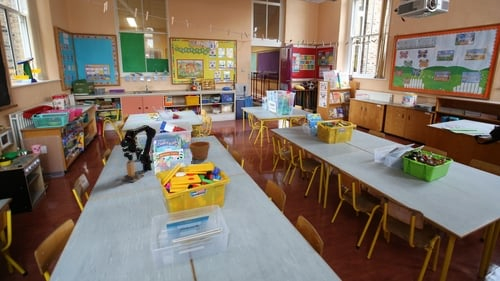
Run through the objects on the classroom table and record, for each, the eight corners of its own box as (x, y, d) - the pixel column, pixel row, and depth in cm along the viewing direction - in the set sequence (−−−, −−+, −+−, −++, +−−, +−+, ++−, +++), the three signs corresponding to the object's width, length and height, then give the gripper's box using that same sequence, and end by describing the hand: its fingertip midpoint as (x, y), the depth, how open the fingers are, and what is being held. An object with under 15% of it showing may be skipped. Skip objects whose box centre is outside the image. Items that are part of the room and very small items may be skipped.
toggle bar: (131, 177, 241) (128, 160, 237) (135, 177, 240) (133, 160, 236) (128, 178, 238) (125, 161, 233) (132, 179, 237) (130, 161, 232)
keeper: (132, 174, 249) (132, 170, 248) (143, 175, 246) (143, 171, 245) (122, 181, 235) (121, 176, 234) (133, 182, 233) (132, 177, 232)
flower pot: (190, 154, 301) (190, 141, 297) (210, 153, 303) (210, 140, 299) (189, 161, 281) (187, 147, 277) (210, 160, 283) (209, 146, 279)
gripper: (131, 140, 251) (133, 157, 255) (116, 146, 233) (119, 164, 237) (142, 141, 248) (144, 158, 252) (128, 147, 231) (130, 165, 235)
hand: (134, 161), depth 244 cm, fingers open, 9 cm apart
